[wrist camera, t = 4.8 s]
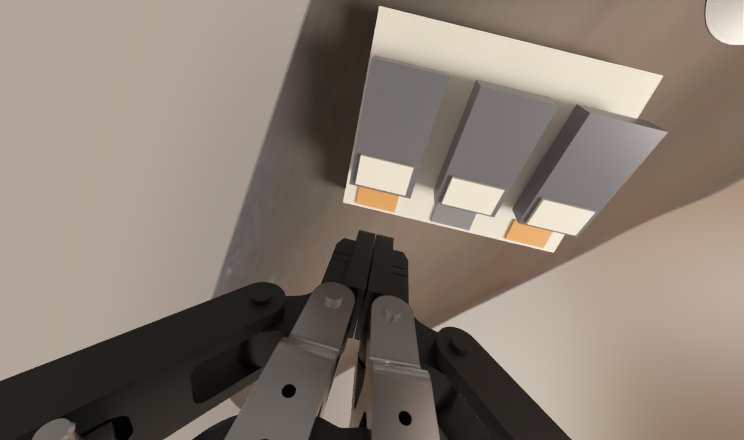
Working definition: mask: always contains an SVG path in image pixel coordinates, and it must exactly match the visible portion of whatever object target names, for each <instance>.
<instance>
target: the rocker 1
mask: <svg viewBox="0 0 744 440" xmlns="http://www.w3.org/2000/svg"><path fill="white" fill-rule="evenodd" d="M448 80H449V75H448V74H447V73H446V72H442V71H438V70H434V69H430V68H425V67H421V66H417V65H413V64H409V63H405V62H401V61H397V60H393V59H389V58H385V57H380V56H376V55H375V56H373V57H372V58H371V64H370V70H369V75H368V81H367V86H366V92H365V98H364V103H363V109H362V115H361V120H360V126H359V132H358V137H357V143H356V149H355V154H354V160H353V165H352V171H351V177H350V182H349V184H351V185H355V186H359V187H363V188H367V189H372V190H376V191H380V192H384V193H388V194H392V195H397V196H401V197H405V198H409V199H410V198H411V195H412V192H413V189H414V186H415V183H416V180H417V176H418V173H419V170H420V167H421V164H422V161H423V158H424V155H425V151H426V148H427V145H428V142H429V139H430V136H431V133H432V130H433V126H434V123H435V120H436V117H437V114H438V111H439V108H440V105H441V101H442V98H443V95H444V92H445V89H446V86H447V83H448Z"/></svg>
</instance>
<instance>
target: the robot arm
mask: <svg viewBox="0 0 744 440" xmlns="http://www.w3.org/2000/svg"><path fill="white" fill-rule="evenodd" d="M374 240H375V243H374ZM393 240H394V238H392V237H387V236H383V235H379V234H377V235H376V239H375V233H370V232H366V231H362V230H359V232H358V236H357V239H356V241H354V240H350V239H346V238H344V239H342V240H341V241H340V242H338V243H337V244H336V247H335V249H334V252H333V255H332V257H331V260H330V262H329V265H328V267H327V270H326V273H325V275H324V278H323V280H322V283H321V285H319V286H317V287H316V288H315V289H314V290H313V292H312V293H310V294H307V295H302V296H285V293H284V291H283V290H282V289H281V288H280V287H279V286H277V285H275V284H273V283H268V282H258V283H253V284H250V285H248V286H245V287H243V288H240V289H237V290H235V291H232V292H230V293H227V294H224V295H222V296H219V297H217V298H214V299H211V300H209V301H206V302H204V303H201V304H199V305H196V306H193V307H191V308H188V309H186V310H183V311H181V312H178V313H175V314H173V315H170V316H168V317H165V318H162V319H160V320H157V321H155V322H152V323H149V324H147V325H144V326H142V327H139V328H136V329H134V330H131V331H129V332H126V333H124V334H121V335H118V336H116V337H113V338H111V339H108V340H105V341H103V342H100V343H98V344H95V345H93V346H90V347H87V348H85V349H83V350H80V351H77V352H75V353H72V354H69V355H67V356H64V357H62V358H59V359H57V360H54V361H51V362H49V363H46V364H43V365H41V366H38V367H36V368H33V369H31V370H28V371H25V372H23V373H20V374H17V375H15V376H13V377H10V378H7V379H5V380H2V381H0V440H163V439H165V438H166V437H168V436H170V435H171V434H173V433H174V432H176V431H177V430H179V429H181V428H182V427H184V426H185V425H187V424H189V423H190V422H192V421H193V420H195V419H196V418H198V417H199V416H201V415H203V414H204V413H206V412H207V411H209V410H211V409H212V408H214V407H215V406H217V405H219V404H220V403H222V402H223V401H225V400H226V399H228V398H230V397H231V396H233V395H234V394H236V393H237V392H239V391H241V390H242V389H244V388H245V387H247V386H249V385H250V384H252V383H253V382H255V381H256V380H257V382H256V384H255V386H254V387H253V389H252V391H251V393H250V394H249V396H248V398H247V400H246V402H245V403H244V405H243V407H242V409H241V411H240V412H239V414H238V415H236V416H233V417H230V418H228V419H225V420H223V421H221V422H219V423H217V424H215V425H213V426H212V427H210V428H208V429H207V430H205V431H204V432H202V433H201V434H199V435H198V436H197V437H195V438H194V439H192V440H571V439H570V438H569V437H568V436H567V435H566V433H564V431H563V430H562V429H561V428H560V427H559V426H558V425H557V424H556V423H555V422H554V421H553V420H552V419H551V418H550V417H549V416H548V415H547V414H546V413H545V412H544V411H543V410H542V409H541V408H540V406H539V405H538V404H537V403H536V402H535V401H534V400H533V399H532V398H531V397H530V396H529V395H528V394H527V393H526V392H525V391H524V390H523V389H522V388H521V387H520V386H519V385H518V384H517V383H516V382H515V381H514V380H513V378H512V377H510V375H509V374H508V373H507V372H506V371H505V370H504V369H503V368H502V367H501V366H500V365H499V364H498V363H497V362H496V361H495V360H494V359H493V358H492V357H491V356H490V355H489V354H488V352H487V351H486V350H484V348H483V347H482V346H481V345H480V344H479V343H478V342H477V341H476V340H475V339H474V338H473V337H472V336H471V335H470V334H468V333H467V332H465V331H463V330H461V329H458V328H455V327H445V328H442V329H441V330H440V331H439V332H436V331H434V330H432V329H430V328H428V327H426V326H425V325H423V324H422V323H420V322H419V321H418V320H417V319H416V318H415V317H414V314H413V311H412V309H411V307H410V306H409V299H408V260H407V258H406V256H405V255H404V253H403V252H400V251H396V250H393ZM373 246H374V247H373ZM357 320H358V322H357ZM356 323H357V327H356ZM355 327H356V332H355V338H354V339H357V340H360V346H359V351H358V354H357V358H356V363H355V375H354V386H353V398H352V409H351V419H350V425H349V428H339V427H337V426H335V425H333V424H331V423H330V422H328V421H326V420H324V419H323V418H322V416H323V413H324V410H325V406H326V403H327V400H328V396H329V393H330V390H331V387H332V384H333V381H334V378H335V374H336V371H337V368H338V365H339V362H340V358H341V354H342V353H343V352H344V350H345V347H346V343H347V339H348V338H353V334H354V331H355ZM462 397H463V398H462ZM469 406H470V407H469ZM473 411H474V412H473ZM477 416H478V417H477ZM484 425H485V426H484Z"/></svg>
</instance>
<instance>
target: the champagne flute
mask: <svg viewBox="0 0 744 440" xmlns="http://www.w3.org/2000/svg"><path fill="white" fill-rule="evenodd" d="M705 16H706V24H707V26H708V29H709V31H710V33H711V34H712V35H713V36H714V37H715V38H716V39H717V40H719V41H721V42H723V43H727V44H730V45H743V44H744V0H707V3H706V13H705Z"/></svg>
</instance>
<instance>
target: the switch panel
mask: <svg viewBox="0 0 744 440" xmlns="http://www.w3.org/2000/svg"><path fill="white" fill-rule="evenodd" d="M375 55H376V56H380V57H385V58H389V59H393V60H397V61H401V62H405V63H409V64H413V65H417V66H421V67H425V68H430V69H434V70H438V71H442V72H446V73H447V74H448V75H449V80H448V83H447V86H446V89H445V92H444V95H443V98H442V101H441V105H440V108H439V111H438V114H437V117H436V120H435V123H434V126H433V130H432V133H431V136H430V139H429V142H428V145H427V148H426V151H425V155H424V158H423V161H422V164H421V167H420V170H419V173H418V176H417V180H416V183H415V186H414V189H413V192H412V195H411V198H410V199H409V198H405V197H401V196H397V195H392V194H388V193H384V192H380V191H376V190H372V189H367V188H363V187H359V186H355V185H351V184H349V182H350V177H351V171H352V165H353V160H354V154H355V149H356V143H357V137H358V132H359V126H360V120H361V115H362V109H363V103H364V98H365V92H366V86H367V81H368V75H369V70H370V64H371V58H372V57H373V56H375ZM662 78H663V76H662V75H658V74H654V73H650V72H646V71H642V70H637V69H633V68H629V67H625V66H621V65H617V64H613V63H609V62H605V61H601V60H597V59H593V58H589V57H585V56H581V55H577V54H573V53H568V52H564V51H560V50H556V49H552V48H548V47H544V46H540V45H536V44H532V43H528V42H524V41H520V40H516V39H512V38H508V37H504V36H500V35H495V34H491V33H487V32H483V31H479V30H475V29H471V28H467V27H463V26H459V25H455V24H451V23H447V22H443V21H439V20H435V19H431V18H426V17H422V16H418V15H414V14H410V13H406V12H402V11H398V10H394V9H390V8H386V7H382V6H379V10H378V15H377V21H376V26H375V32H374V37H373V43H372V48H371V53H370V59H369V64H368V70H367V75H366V81H365V86H364V91H363V97H362V102H361V108H360V113H359V119H358V124H357V129H356V135H355V140H354V146H353V151H352V157H351V162H350V167H349V173H348V178H347V184H346V189H345V195H344V200H343V202H344V203H348V204H352V205H356V206H361V207H365V208H369V209H373V210H377V211H381V212H386V213H390V214H394V215H398V216H402V217H407V218H411V219H415V220H419V221H423V222H427V223H432V224H436V225H440V226H444V227H448V228H453V229H457V230H461V231H465V232H469V233H473V234H478V235H482V236H486V237H490V238H494V239H499V240H503V241H507V242H511V243H515V244H519V245H524V246H528V247H532V248H536V249H540V250H545V251H549V252H553V253H554V251H555V249H556V248H557V246H558V245H559V243H560V241H561V240H562V238H563V237H564V235H565V234H561V233H556V232H552V231H548V230H544V229H540V228H536V227H531V226H527V225H523V224H519V223H518V222H517V220H516V217H515V215H514V213H513V210H512V208H513V207H514V205H515V204H516V202H517V200H518V199H519V197H520V195H521V194H522V192H523V191H524V189H525V187H526V186H527V184H528V182H529V181H530V179H531V178H532V176H533V174H534V173H535V171H536V169H537V168H538V166H539V165H540V163H541V161H542V160H543V158H544V156H545V155H546V153H547V152H548V150H549V148H550V147H551V145H552V143H553V142H554V140H555V139H556V137H557V135H558V134H559V132H560V130H561V129H562V127H563V126H564V124H565V122H566V121H567V119H568V117H569V116H570V114H571V113H572V111H573V109H574V108H575V106H576V104H579V105H583V106H587V107H591V108H595V109H600V110H604V111H608V112H612V113H616V114H620V115H624V116H628V117H632V118H636V119H637V118H638V116H639V115H640V113H641V111H642V110H643V108H644V107H645V105H646V103H647V102H648V100H649V98H650V97H651V95H652V94H653V92H654V90H655V89H656V87H657V86H658V84H659V82H660V81H661V79H662ZM476 79H477V80H481V81H485V82H489V83H493V84H497V85H502V86H506V87H510V88H514V89H518V90H522V91H526V92H530V93H534V94H538V95H542V96H546V97H549V98H550V99H551V100H553V101H554V102H555V103H557V104H558V105H559V107H558V108H557V110H556V112H555V114H554V115H553V117H552V119H551V120H550V122H549V124H548V126H547V127H546V129H545V131H544V133H543V134H542V136H541V138H540V139H539V141H538V143H537V145H536V146H535V148H534V150H533V152H532V153H531V155H530V157H529V158H528V160H527V162H526V164H525V165H524V167H523V169H522V170H521V172H520V174H519V176H518V177H517V179H516V181H515V183H514V184H513V186H512V188H511V189H510V191H509V193H508V195H507V196H506V198H505V200H504V201H503V203H502V205H501V207H500V208H499V210H498V212H497V214H496V215H495V217H490V216H486V215H481V214H477V213H473V212H469V211H465V210H461V209H456V208H452V207H448V206H444V205H440V204H436V203H434V191H433V190H434V188H435V185H436V182H437V180H438V177H439V175H440V172H441V169H442V167H443V164H444V162H445V159H446V156H447V154H448V151H449V149H450V146H451V143H452V141H453V138H454V136H455V133H456V130H457V128H458V125H459V123H460V120H461V117H462V115H463V112H464V110H465V107H466V104H467V102H468V99H469V97H470V94H471V91H472V89H473V86H474V84H475V81H476Z"/></svg>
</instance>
